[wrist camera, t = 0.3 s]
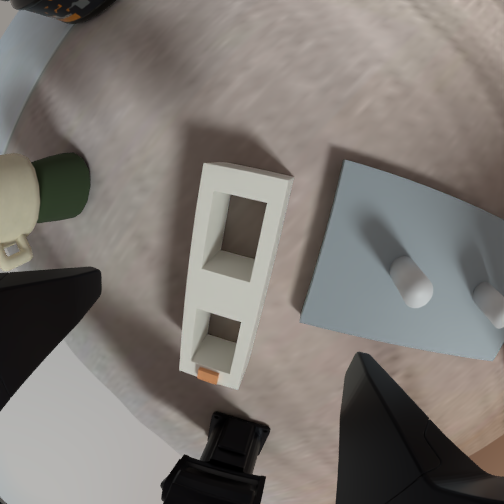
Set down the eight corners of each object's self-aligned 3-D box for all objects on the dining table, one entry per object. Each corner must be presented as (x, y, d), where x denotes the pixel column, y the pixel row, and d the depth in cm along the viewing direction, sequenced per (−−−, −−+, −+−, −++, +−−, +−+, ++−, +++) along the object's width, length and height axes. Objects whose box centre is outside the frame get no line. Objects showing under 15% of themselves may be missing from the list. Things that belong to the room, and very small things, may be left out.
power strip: (294, 176, 19) (288, 180, 15) (249, 360, 25) (236, 393, 21) (224, 161, 20) (201, 163, 16) (196, 343, 25) (177, 373, 21)
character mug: (39, 164, 24) (-61, 185, 12) (72, 118, 21) (-44, 121, 9) (80, 248, 25) (-22, 301, 13) (120, 210, 23) (-6, 258, 11)
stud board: (488, 354, 19) (507, 385, 15) (300, 314, 22) (294, 352, 18) (539, 239, 15) (571, 257, 11) (343, 159, 18) (352, 159, 13)
